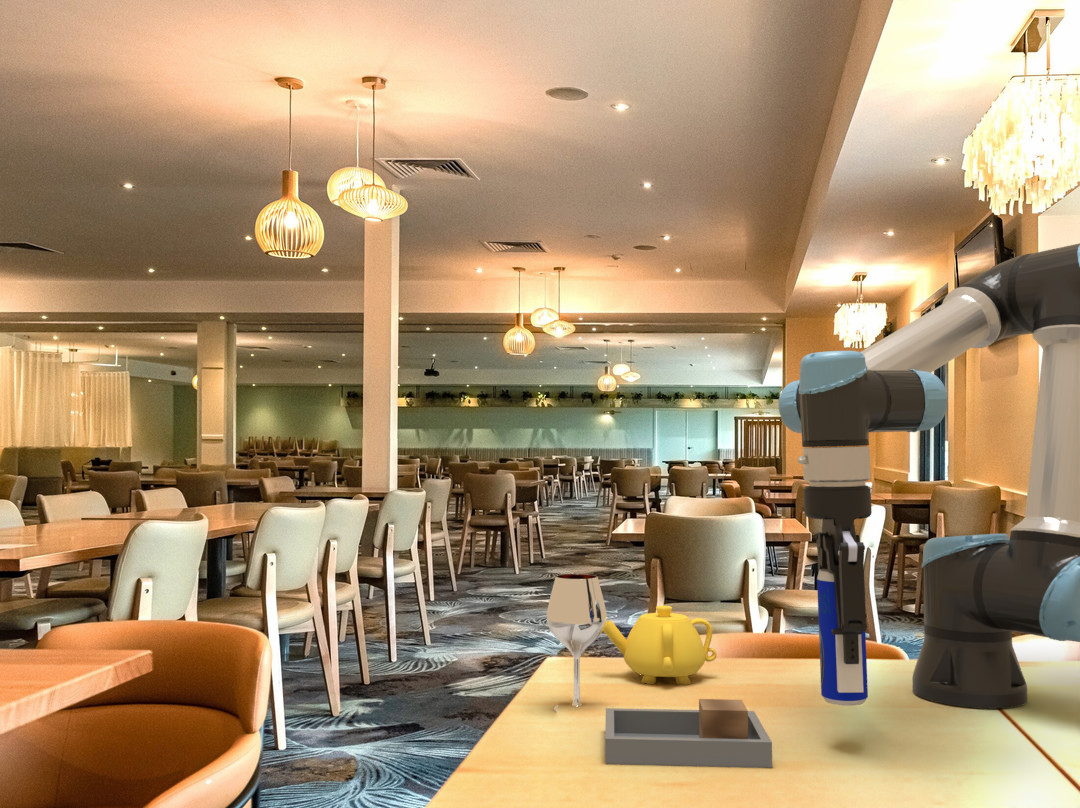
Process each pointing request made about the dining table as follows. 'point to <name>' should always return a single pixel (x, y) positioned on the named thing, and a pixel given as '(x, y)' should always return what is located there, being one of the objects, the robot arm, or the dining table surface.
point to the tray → (679, 741)
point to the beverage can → (834, 646)
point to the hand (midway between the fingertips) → (844, 684)
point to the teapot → (663, 645)
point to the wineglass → (576, 617)
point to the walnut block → (723, 719)
